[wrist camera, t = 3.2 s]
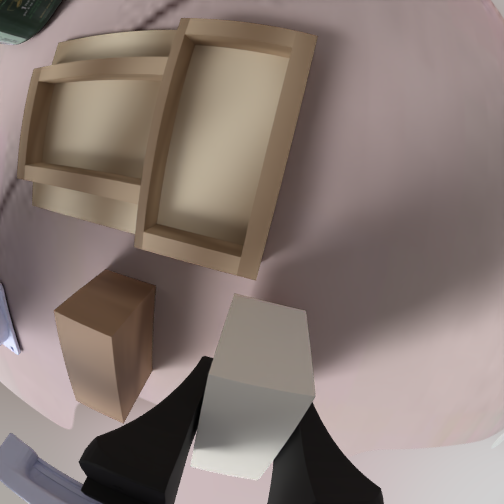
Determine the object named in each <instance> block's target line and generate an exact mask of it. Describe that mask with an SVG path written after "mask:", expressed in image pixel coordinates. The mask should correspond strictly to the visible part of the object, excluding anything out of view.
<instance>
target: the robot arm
mask: <svg viewBox="0 0 504 504" xmlns="http://www.w3.org/2000/svg"><path fill="white" fill-rule="evenodd" d="M2 344H4V345H5V346H6V347H7V348H9V349H10V350H12V351H13V352H14V353H16V354H17V355H19V354H20V353H21V351H20V348H19V345H18V342H17V339H16V336H15V332H14V329H13V325H12V322H11V318H10V314H9V310H8V306H7V302H6V298H5V293H4V288H3V286H2V284H1V283H0V345H2ZM212 361H213V358H210V357H207V356H204V357H202V358H201V360H200V361H199V363H198V364H197V366H196V367H195V368H194V370H193V371H192V372H191V373H190V375H189V376H188V377H187V378H186V379H185V380H184V381H183V382H182V383H181V384H180V385H179V386H178V387H177V388H176V389H175V390H174V391H173V392H172V393H171V394H170V395H169V396H168V397H166V398H165V399H164V400H163V401H162V402H160V403H159V404H158V405H156V406H155V407H154V408H152V409H151V410H149V411H148V412H146V413H145V414H143V415H142V416H140V417H139V418H137V419H136V420H133V421H132V422H129V423H128V424H126V425H124V426H122V427H120V428H118V429H115V430H113V431H110V432H108V433H105V434H103V435H100V436H97V437H96V438H95V439H94V440H93V441H92V442H91V443H90V444H89V445H88V447H87V448H86V449H85V451H84V453H83V455H82V457H81V459H80V461H79V464H80V466H81V468H82V470H83V471H84V472H85V474H86V475H87V478H86V480H85V482H84V484H82V483H80V482H78V481H76V480H74V479H73V478H71V477H69V476H68V475H66V474H64V473H62V472H61V471H59V470H57V469H56V468H54V467H53V466H51V465H50V464H48V463H47V462H45V461H43V460H42V459H41V458H39V457H38V455H37V454H36V452H35V451H34V450H33V449H32V448H31V447H29V446H28V445H27V444H25V443H24V442H23V441H22V440H20V439H19V438H17V437H16V436H15V435H14V434H13V433H10V434H9V435H8V437H7V438H6V439H5V441H4V442H3V443H2V445H1V446H0V481H1V482H2V483H4V484H5V485H6V486H7V487H8V488H10V489H11V490H12V491H13V492H14V493H16V494H17V495H18V496H19V497H21V498H22V499H23V500H25V501H26V502H27V503H29V504H174V502H175V498H176V495H177V491H178V487H179V484H180V480H181V477H182V473H183V469H184V466H185V463H186V459H187V456H188V452H189V449H190V446H191V444H192V441H193V439H194V436H195V434H196V431H197V428H198V423H199V418H200V413H201V408H202V403H203V398H204V393H205V388H206V383H207V378H208V374H209V371H210V368H211V364H212ZM267 504H384V502H383V495H382V491H381V488H380V487H378V486H377V485H376V484H374V483H373V482H372V481H370V480H369V479H368V478H367V477H366V476H364V475H363V474H362V473H361V472H360V471H359V470H358V469H357V468H356V467H355V466H354V465H353V464H352V463H351V462H350V461H349V460H348V458H347V457H346V456H345V455H344V454H343V453H342V451H341V450H340V449H339V447H338V446H337V445H336V443H335V442H334V440H333V439H332V438H331V436H330V434H329V433H328V431H327V429H326V428H325V426H324V424H323V422H322V421H321V419H320V417H319V415H318V413H317V411H316V409H315V407H314V405H313V402H312V403H311V405H310V406H309V408H308V410H307V411H306V413H305V414H304V416H303V418H302V419H301V421H300V422H299V424H298V425H297V427H296V428H295V430H294V431H293V433H292V434H291V436H290V437H289V439H288V440H287V442H286V443H285V445H284V446H283V447H282V449H281V450H280V452H279V453H278V454H277V456H276V457H275V459H274V461H273V473H272V480H271V487H270V492H269V498H268V503H267Z"/></svg>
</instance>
